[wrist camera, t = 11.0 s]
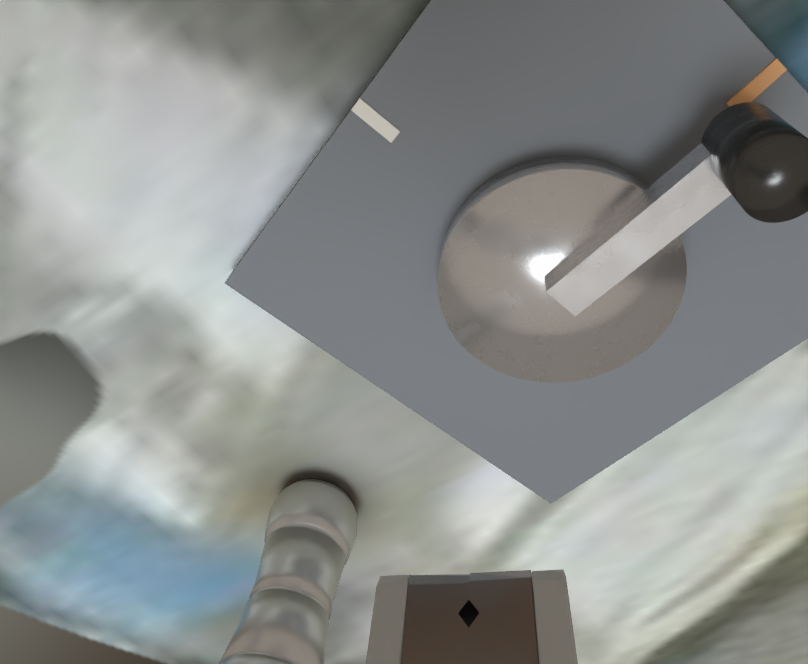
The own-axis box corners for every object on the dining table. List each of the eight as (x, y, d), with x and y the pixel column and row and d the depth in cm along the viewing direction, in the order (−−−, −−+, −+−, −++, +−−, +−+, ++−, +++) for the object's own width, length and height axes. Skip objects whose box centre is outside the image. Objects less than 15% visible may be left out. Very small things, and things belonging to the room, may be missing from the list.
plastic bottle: (336, 458, 46) (250, 775, 29) (377, 518, 49) (320, 833, 32) (262, 477, 48) (141, 782, 31) (306, 533, 51) (217, 836, 34)
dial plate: (233, 270, 37) (224, 284, 36) (557, -175, 24) (561, -179, 23) (549, 486, 45) (551, 504, 43) (930, 233, 32) (950, 248, 30)
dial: (548, 394, 38) (558, 483, 32) (394, 272, 34) (374, 347, 29) (834, 188, 29) (917, 260, 23) (666, -4, 26) (717, 26, 20)
